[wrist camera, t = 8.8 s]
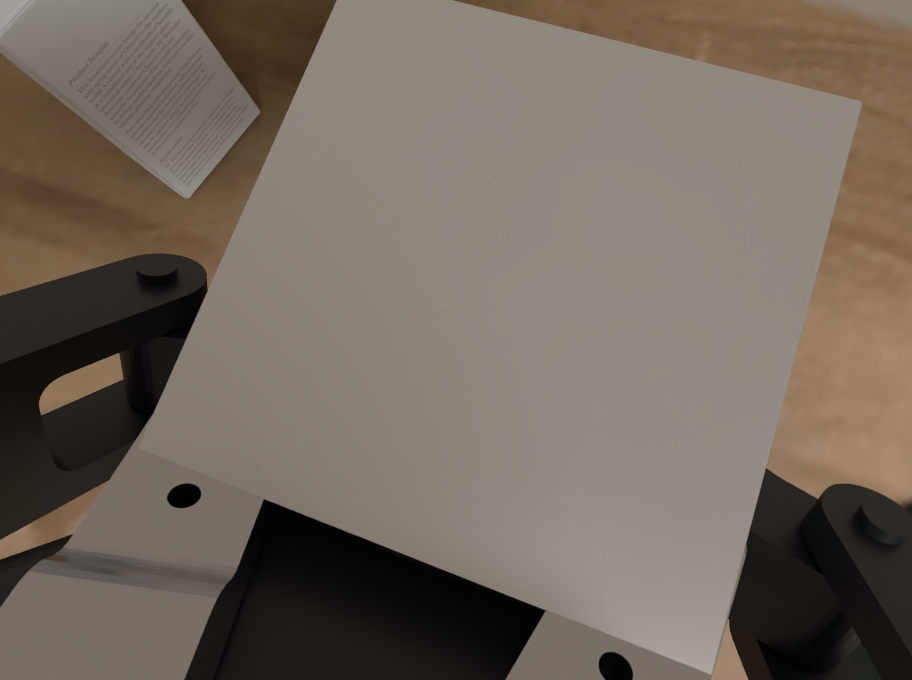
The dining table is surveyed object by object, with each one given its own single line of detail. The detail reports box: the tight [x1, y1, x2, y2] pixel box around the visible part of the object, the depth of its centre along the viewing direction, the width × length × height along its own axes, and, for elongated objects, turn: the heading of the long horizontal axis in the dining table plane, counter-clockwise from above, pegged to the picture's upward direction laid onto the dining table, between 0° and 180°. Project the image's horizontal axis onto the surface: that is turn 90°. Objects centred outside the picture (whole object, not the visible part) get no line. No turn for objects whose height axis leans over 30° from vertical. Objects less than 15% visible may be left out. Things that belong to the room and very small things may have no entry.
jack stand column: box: [138, 0, 862, 675], centre depth 14 cm, size 5×5×17 cm
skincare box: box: [0, 0, 260, 199], centre depth 26 cm, size 6×4×12 cm
